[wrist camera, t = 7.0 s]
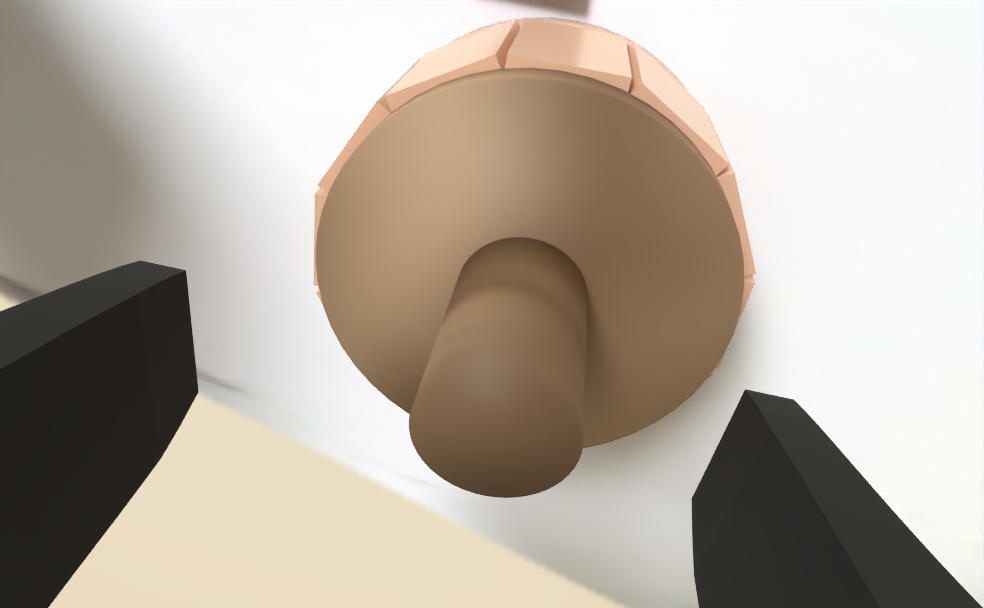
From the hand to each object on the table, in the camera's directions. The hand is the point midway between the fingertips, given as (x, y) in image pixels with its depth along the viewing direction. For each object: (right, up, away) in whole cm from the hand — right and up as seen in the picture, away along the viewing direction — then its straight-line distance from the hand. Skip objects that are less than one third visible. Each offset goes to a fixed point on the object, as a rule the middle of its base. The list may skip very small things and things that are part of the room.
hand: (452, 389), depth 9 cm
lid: (+1, +2, +5) cm, 6 cm away
